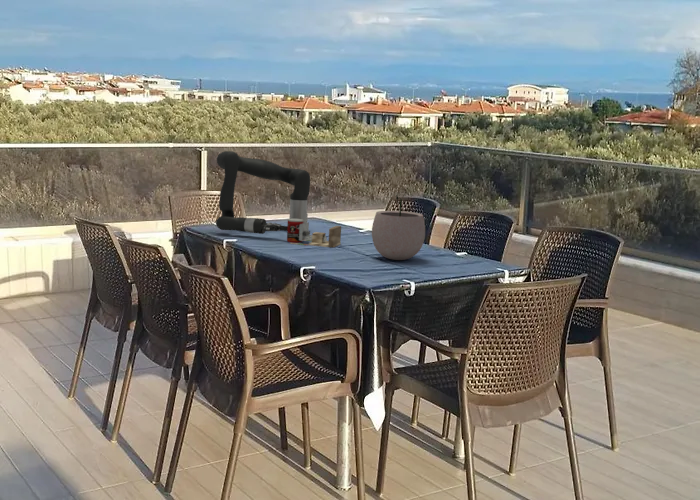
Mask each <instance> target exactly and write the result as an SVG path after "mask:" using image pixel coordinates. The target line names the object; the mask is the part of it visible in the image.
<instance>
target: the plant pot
mask: <svg viewBox="0 0 700 500" xmlns="http://www.w3.org/2000/svg"><path fill="white" fill-rule="evenodd" d="M405 195H406V194H405V193H404V194H403V195H402V198H400V197H399V196H398V195H397V194H396V202H397V204H399V210H379V211H376V213H375V216H374V219H373V220H372V221H373V223H372V226H371V238H372V242H373V245H374V248H375V250H376V251H377V252H378V253H379V254H380V255H381V256H382V257H384V258H386V259H389V260H393V261H405V260H409V259H411V258H413V257H415V256H416V255H417V254H418V253H419V252H420V251H421V249H422V247H423V244H424V241H425V239H426V225H425V218H424V215H423V214H422V213H418V212H413V211H405V210H403V211H402V200H403V198H404V196H405ZM399 199H400V201H399Z"/></svg>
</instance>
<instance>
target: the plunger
mask: <svg viewBox="0 0 700 500" xmlns="http://www.w3.org/2000/svg"><path fill="white" fill-rule="evenodd" d="M309 225H310V222H308V221H307V222H305V223H302V224H300V229H299V240H300V241H302V242H303V240H309V241H308V242H311V241H312V234H311V231H310V230H309V228H310V226H309ZM327 238H328V236H326V235H325V236H323V242H326V241H328V239H327Z"/></svg>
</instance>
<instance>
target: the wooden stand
mask: <svg viewBox="0 0 700 500" xmlns="http://www.w3.org/2000/svg"><path fill="white" fill-rule="evenodd" d="M328 229H329V231H328V240H327V241H326V242H323V236H326V234H327V233H326V232H321V231H320V232H319V231H318V232H317V231H314V232H313V233H311V235H312V241H309V240H306V239H305V240H303V241H304V242H309V243H291V242H289V245H299V246H314V247H321V248H322V247H324V248H336V247H338V246H340V245H341V239H342V238H341V237H342V226H341V225H335V226H332V227H330V228H328ZM303 241H302V242H303Z"/></svg>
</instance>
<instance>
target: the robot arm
mask: <svg viewBox="0 0 700 500" xmlns="http://www.w3.org/2000/svg"><path fill="white" fill-rule="evenodd" d="M216 164H217V165H218V167H220V169H223V170H224V180H223V182H222V186H221V189H220V193H219V203H218V207H219V210H220V211H221V215H220V216H219V217H217V219H216V220H215V225H216V227H217V228H218V229H219V230H221V231H237V232H245V233H250V234H260V235H263V234H265V233H266V232H279V231H284V232H287V225H282V224H280V223H276V222H267V220H266V219H265V218H260V217H259V218H258V217H241V216H240V217H235V213H234V198H235V187H236V182H237V181H236V180H237V176H238V172H242V173H244V174H247V175H250V176H254V177H256V178H260V179H264V180H268V181H269V180H270V181H280V182H284V183H286V184H289V185H291V186H293V187H294V189H293V192H292V193H291V194H290V199H289V218H288V219H302V220H303V223H305V222H308V215H309V214H308V198H309V194H310V191H311V175H310V173H309V172H308V171H307V170H304V169H299V168H290V167H285V166H281V165H279V164H277V163H275V162H272V161H268V160H265V159H261V158H260V159H259V158H252V157H251V158H250V157H243V156H239V154H238V153H237V152H235V151H232V150H230V151H229V150H227V151H226V150H225V151H222V152H220V153H219V154H218V155H217V156H216Z"/></svg>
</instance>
